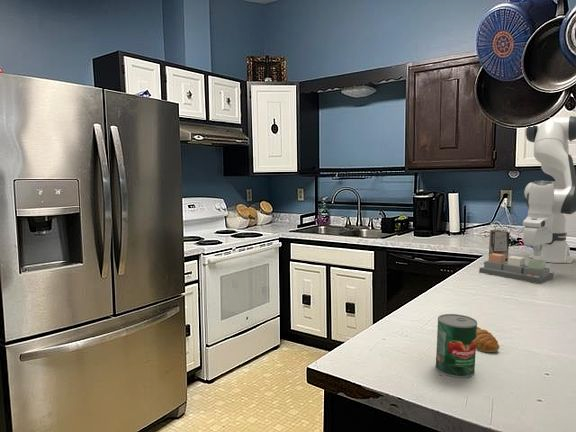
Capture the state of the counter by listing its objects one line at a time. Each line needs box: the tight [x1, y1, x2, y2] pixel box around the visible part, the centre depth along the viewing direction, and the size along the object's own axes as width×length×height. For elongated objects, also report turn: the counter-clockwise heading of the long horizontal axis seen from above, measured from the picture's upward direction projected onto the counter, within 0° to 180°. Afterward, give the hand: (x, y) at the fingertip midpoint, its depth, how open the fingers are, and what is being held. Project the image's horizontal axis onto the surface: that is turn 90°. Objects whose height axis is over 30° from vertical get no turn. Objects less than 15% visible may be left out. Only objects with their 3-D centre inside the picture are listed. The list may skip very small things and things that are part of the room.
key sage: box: [527, 258, 547, 270], centre depth 173 cm, size 5×5×4 cm
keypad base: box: [478, 259, 555, 285], centre depth 180 cm, size 14×24×4 cm, turn 40°
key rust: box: [488, 253, 505, 264], centre depth 185 cm, size 5×5×4 cm
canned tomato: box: [435, 313, 478, 379], centre depth 92 cm, size 8×8×11 cm
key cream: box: [508, 255, 526, 267], centre depth 179 cm, size 5×5×4 cm
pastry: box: [476, 326, 500, 354], centre depth 105 cm, size 9×7×4 cm
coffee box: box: [488, 229, 510, 262], centre depth 199 cm, size 9×6×16 cm
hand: (537, 255), depth 173 cm, fingers closed
